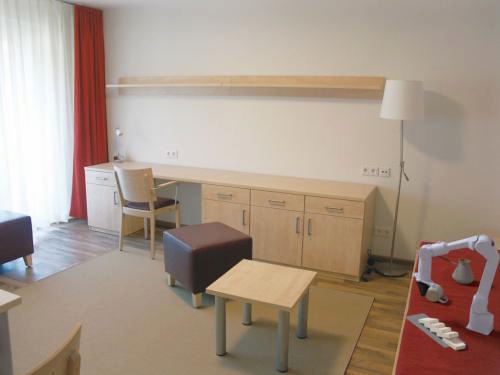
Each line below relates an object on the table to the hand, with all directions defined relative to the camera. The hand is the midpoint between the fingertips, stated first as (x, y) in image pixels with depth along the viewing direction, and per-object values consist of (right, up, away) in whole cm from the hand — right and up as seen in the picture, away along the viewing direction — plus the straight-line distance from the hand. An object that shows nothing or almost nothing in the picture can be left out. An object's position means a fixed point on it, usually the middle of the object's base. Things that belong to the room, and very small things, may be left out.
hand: (422, 295), depth 211 cm
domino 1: (-2, -11, -5) cm, 12 cm away
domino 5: (+3, -14, -20) cm, 24 cm away
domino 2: (-1, -11, -8) cm, 14 cm away
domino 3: (0, -12, -12) cm, 17 cm away
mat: (0, -13, -11) cm, 17 cm away
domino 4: (+2, -13, -16) cm, 21 cm away
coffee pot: (+34, -1, +41) cm, 53 cm away
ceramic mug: (+14, -7, +18) cm, 24 cm away
